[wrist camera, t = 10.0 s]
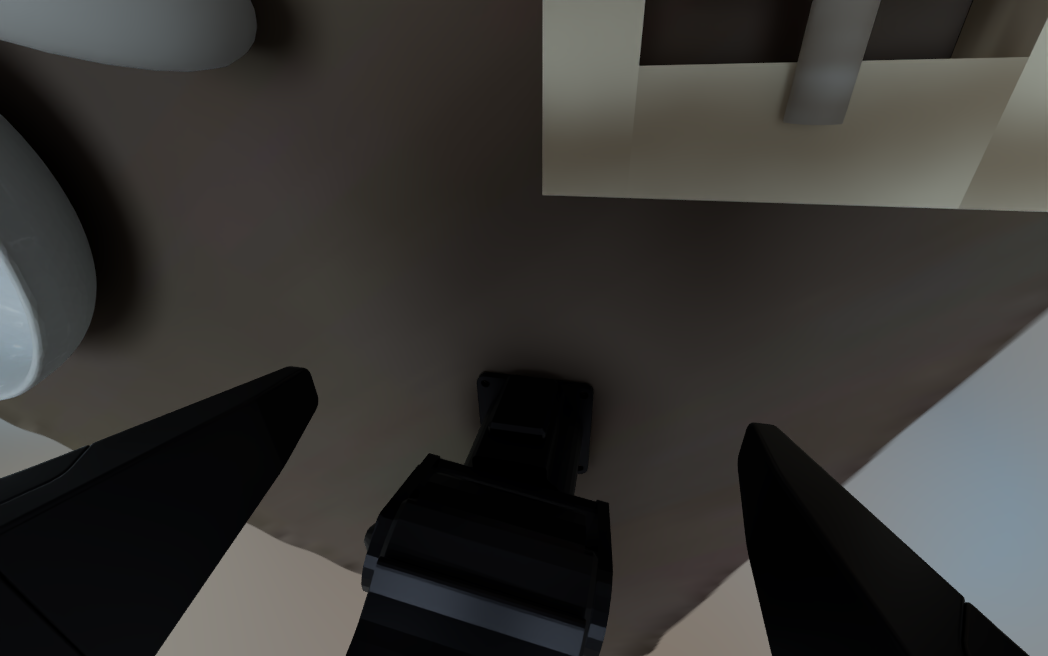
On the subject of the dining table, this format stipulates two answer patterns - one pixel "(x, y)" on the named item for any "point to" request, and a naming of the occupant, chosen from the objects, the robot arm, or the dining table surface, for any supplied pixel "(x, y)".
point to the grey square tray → (800, 114)
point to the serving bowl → (38, 269)
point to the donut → (134, 31)
